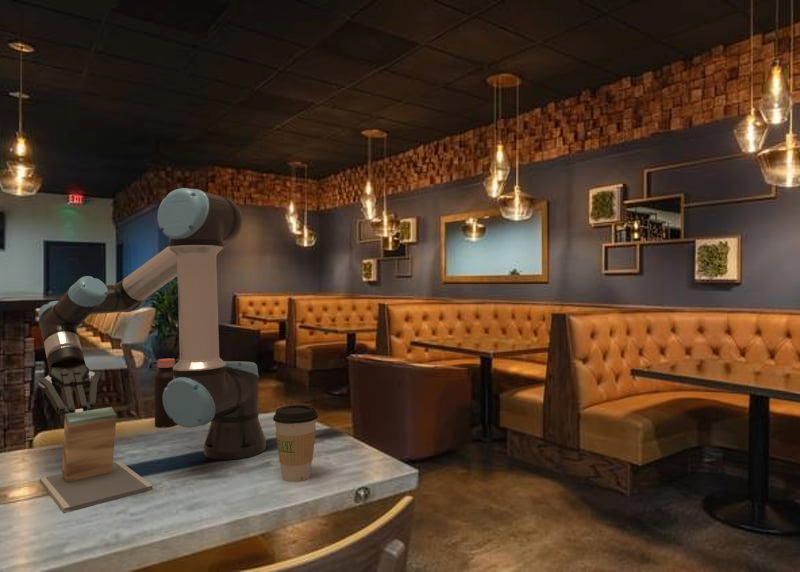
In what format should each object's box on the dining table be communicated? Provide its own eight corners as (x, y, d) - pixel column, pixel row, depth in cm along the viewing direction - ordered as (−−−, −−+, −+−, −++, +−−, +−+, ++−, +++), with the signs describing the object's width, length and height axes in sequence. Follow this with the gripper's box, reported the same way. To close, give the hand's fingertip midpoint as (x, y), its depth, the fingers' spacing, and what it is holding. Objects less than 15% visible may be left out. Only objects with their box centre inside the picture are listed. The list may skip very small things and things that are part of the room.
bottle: (149, 426, 161) (148, 360, 161) (167, 421, 168) (166, 357, 167) (166, 428, 159) (165, 361, 159) (183, 423, 165) (183, 358, 165)
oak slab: (61, 473, 117) (65, 414, 114) (107, 463, 123) (111, 407, 120) (66, 482, 114) (69, 422, 111) (112, 471, 120) (116, 414, 117)
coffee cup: (277, 469, 123) (276, 404, 123) (320, 468, 124) (319, 403, 124) (270, 485, 113) (269, 415, 113) (317, 484, 114) (316, 414, 114)
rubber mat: (40, 482, 116) (39, 478, 116) (119, 464, 127) (119, 460, 127) (63, 512, 100) (63, 508, 100) (152, 489, 111) (152, 485, 111)
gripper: (91, 361, 137) (112, 439, 125) (31, 367, 128) (46, 452, 116) (97, 342, 133) (118, 421, 121) (34, 347, 124) (51, 432, 112)
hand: (83, 436), depth 119 cm, fingers closed
